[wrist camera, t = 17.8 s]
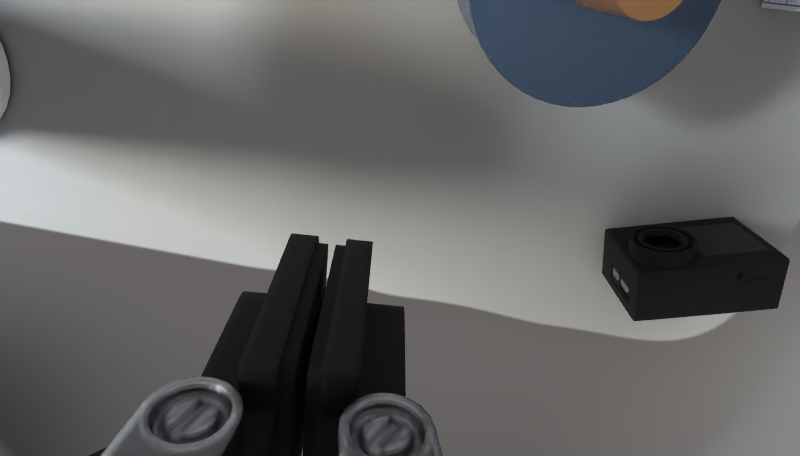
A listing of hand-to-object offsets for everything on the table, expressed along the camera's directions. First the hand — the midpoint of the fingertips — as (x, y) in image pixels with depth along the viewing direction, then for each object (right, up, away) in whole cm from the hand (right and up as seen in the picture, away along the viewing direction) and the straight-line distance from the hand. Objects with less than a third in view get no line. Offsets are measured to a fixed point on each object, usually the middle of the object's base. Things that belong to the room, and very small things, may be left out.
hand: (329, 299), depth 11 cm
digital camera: (+24, +1, +32) cm, 40 cm away
